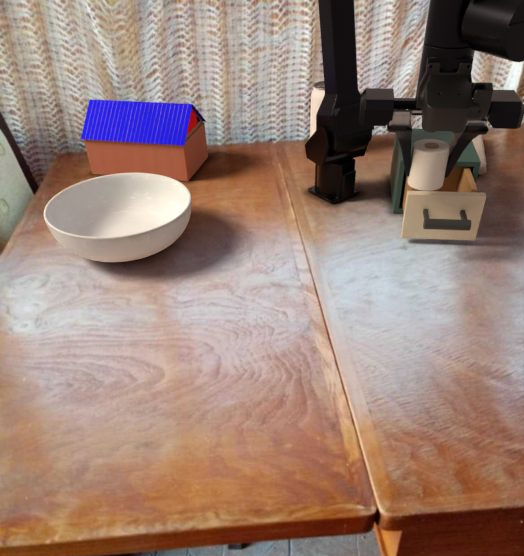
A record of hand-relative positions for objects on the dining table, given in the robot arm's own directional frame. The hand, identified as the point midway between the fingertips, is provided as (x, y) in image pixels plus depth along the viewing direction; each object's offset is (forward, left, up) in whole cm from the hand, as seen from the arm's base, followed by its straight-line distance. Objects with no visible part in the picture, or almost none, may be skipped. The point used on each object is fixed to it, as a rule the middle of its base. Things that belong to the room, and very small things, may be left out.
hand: (426, 175), depth 71 cm
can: (-36, +16, -11) cm, 41 cm away
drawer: (-1, +6, -10) cm, 12 cm away
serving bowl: (-29, -31, -11) cm, 44 cm away
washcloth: (-17, +30, -11) cm, 37 cm away
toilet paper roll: (0, 0, -1) cm, 1 cm away
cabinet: (-10, +15, -11) cm, 21 cm away
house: (-53, -14, -11) cm, 56 cm away
